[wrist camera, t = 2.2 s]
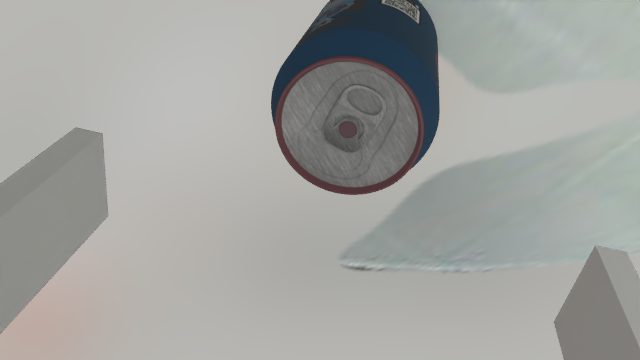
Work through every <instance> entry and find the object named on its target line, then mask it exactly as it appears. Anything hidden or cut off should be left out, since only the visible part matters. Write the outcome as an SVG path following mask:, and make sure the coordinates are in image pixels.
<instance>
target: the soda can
mask: <svg viewBox="0 0 640 360" xmlns="http://www.w3.org/2000/svg"><path fill="white" fill-rule="evenodd" d="M438 79H439V78H438V44H437V35H436V30H435V27H434V24H433V21H432V19H431V17H430V15H429V14H428V12H427V11H426V9H425V8H424V7H423V5H422V4H421V3H420V2H419V1H418V0H330V1H329V2H328V3H327V5H326V6H325V7H324V8H323V9H322V11H321V12H320V14H319V15H318V16H317V18H316V19H315V20H314V22H313V23H312V25H311V26H310V27H309V29H308V30H307V32H306V33H305V34H304V36H303V37H302V39H301V40H300V41H299V43H298V44H297V45H296V47H295V48H294V50H293V51H292V52H291V54H290V55H289V56H288V58H287V59H286V61H285V62H284V64H283V65H282V67H281V68H280V70H279V73H278V75H277V77H276V80H275V82H274V87H273V91H272V100H271V109H272V117H273V122H274V126H275V130H276V136H277V140H278V143H279V146H280V148H281V151H282V153H283V155H284V156H285V158H286V160H287V161H288V162H289V164H290V165H291V166H292V167H293V169H295V171H296V172H298V174H300V175H301V176H302V177H303V178H305V179H306V180H307V181H309V182H311V183H312V184H314V185H316V186H318V187H320V188H322V189H325V190H328V191H331V192H335V193H340V194H349V195H357V194H367V193H371V192H375V191H379V190H382V189H384V188H386V187H388V186H390V185H392V184H394V183H395V182H397V181H398V180H399V179H401V178H402V177H403V176H404V175H405V174H406V173H407V172H408V171H409V170H410V169H411V168H412V167H414V166H415V165H416V164H417V163H418V162H419V160H421V158H422V157H423V156H424V155H425V153H426V151H427V150H428V149H429V147H430V145H431V143H432V141H433V139H434V136H435V134H436V131H437V127H438V121H439V80H438Z"/></svg>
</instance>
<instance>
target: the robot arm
mask: <svg viewBox="0 0 640 360" xmlns="http://www.w3.org/2000/svg"><path fill="white" fill-rule="evenodd" d="M107 217H108V206H107V192H106V178H105V165H104V149H103V134H102V133H98V132H93V131H89V130H84V129H80V128H74V129H73V130H72V131H70V132H69V133H68V134H66V135H65V136H64V137H62V138H61V139H60V140H58V141H57V142H56V143H54V144H53V145H51V146H50V147H49V148H47V149H46V150H45V151H43V152H42V153H41V154H39V155H38V156H37V157H35V158H34V159H33V160H31V161H30V162H29V163H27V164H26V165H25V166H23V167H22V168H21V169H19V170H18V171H17V172H15V173H14V174H13V175H11V176H10V177H9V178H7V179H6V180H5V181H3V182H2V183H0V334H1V333H2V332H3V330H4V329H5V328H6V327H7V326H8V325H9V324H10V323H11V322H12V321H13V320H14V318H15V317H16V316H17V315H18V314H19V313H20V312H21V311H22V310H23V308H25V306H26V305H27V304H28V303H29V302H30V301H31V300H32V299H33V298H34V297H35V295H36V294H37V293H38V292H39V291H40V290H41V289H42V288H43V287H44V286H45V285H46V283H47V282H48V281H49V280H50V279H51V278H52V277H53V276H54V275H55V274H56V272H57V271H58V270H59V269H60V268H61V267H62V266H63V265H64V264H65V263H66V262H67V260H68V259H69V258H70V257H71V256H72V255H73V254H74V253H75V252H76V251H77V249H78V248H79V247H80V246H81V245H82V244H83V243H84V242H85V241H86V240H87V239H88V237H89V236H90V235H91V234H92V233H93V232H94V231H95V230H96V229H97V228H98V226H99V225H100V224H101V223H102V222H103V221H104V220H105V219H106V218H107ZM554 324H555V328H556V332H557V335H558V339H559V343H560V346H561V350H562V354H563V357H564V360H640V279H639V276H638V274H637V273H636V270H635V268H634V267H633V264H632V262H631V261H630V258H629V256H628V254H627V252H623V251H619V250H615V249H610V248H606V247H601V246H597V245H595V247H594V249H593V251H592V253H591V254H590V256H589V258H588V260H587V262H586V264H585V266H584V267H583V269H582V271H581V273H580V275H579V277H578V278H577V280H576V282H575V284H574V286H573V288H572V290H571V292H570V293H569V295H568V297H567V299H566V300H565V303H564V304H563V306H562V308H561V310H560V312H559V313H558V315H557V317H556V319H555V321H554Z"/></svg>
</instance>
